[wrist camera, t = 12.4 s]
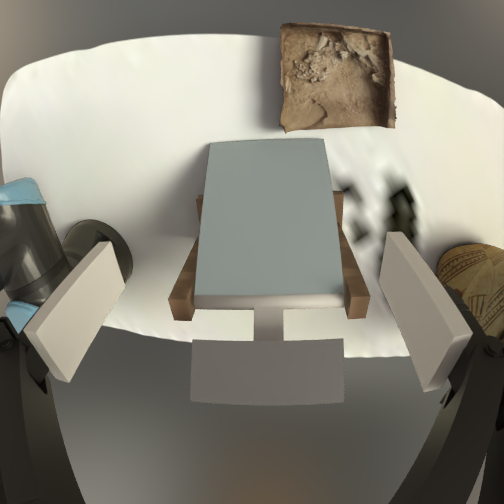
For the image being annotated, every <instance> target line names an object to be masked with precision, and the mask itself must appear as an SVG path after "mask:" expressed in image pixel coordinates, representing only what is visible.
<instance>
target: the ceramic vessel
mask: <svg viewBox="0 0 504 504" xmlns="http://www.w3.org/2000/svg"><path fill="white" fill-rule="evenodd" d="M437 279H438V280H439V282H440V283H441V284H442V286H443V287H444V286H450V287H451V288H452V289H454V290H455V291H456V292H458V293H459V295H460V296H461V297H462V299H463V300H464V302H465V304H466V305H467V306H468V308H469V311H471V312H472V314H473V315H474V317H475V318H476V320H477V321H478V323H479V324H480V326H481V328H482V329H483V331H484V332H485V334H486V336H487V335H490V336H494V337H496V338H498V339H500V340H501V341H502V342H503V343H504V250H503V249H500V248H498V247H494V246H491V245H487V244H471V245H463V246H458V247H455V248H452V249H450V250H449V251H447V252H446V253H444V254H443V255H442V257H441V258H440V260H439V264H438V269H437Z"/></svg>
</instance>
